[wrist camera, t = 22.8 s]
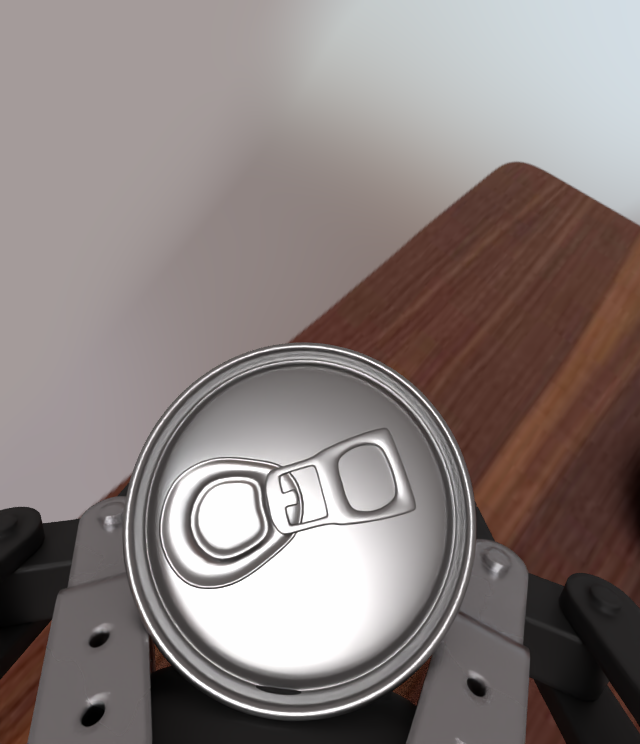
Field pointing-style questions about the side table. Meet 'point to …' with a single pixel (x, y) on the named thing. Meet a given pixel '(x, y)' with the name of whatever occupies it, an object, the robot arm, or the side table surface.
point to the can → (299, 531)
